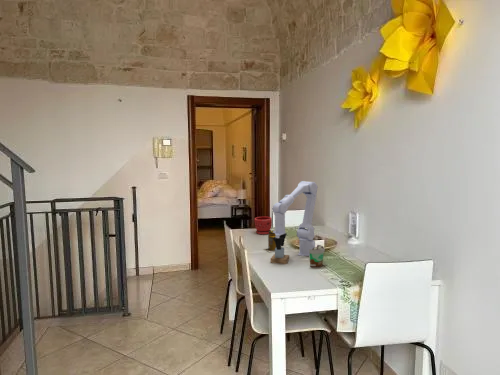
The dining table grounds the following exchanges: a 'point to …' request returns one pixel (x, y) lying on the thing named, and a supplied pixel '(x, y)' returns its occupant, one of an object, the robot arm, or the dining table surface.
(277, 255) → the block
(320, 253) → the food container
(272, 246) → the condiment
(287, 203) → the robot arm
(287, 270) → the dining table surface
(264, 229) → the plant pot
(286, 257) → the base
